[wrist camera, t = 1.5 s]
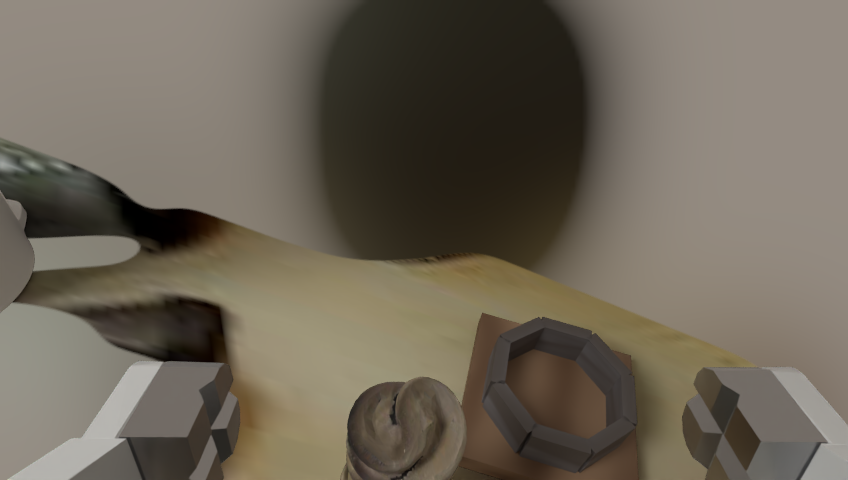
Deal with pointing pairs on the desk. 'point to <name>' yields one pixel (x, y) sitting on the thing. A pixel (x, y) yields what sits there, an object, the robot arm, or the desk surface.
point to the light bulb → (405, 432)
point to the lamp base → (548, 404)
